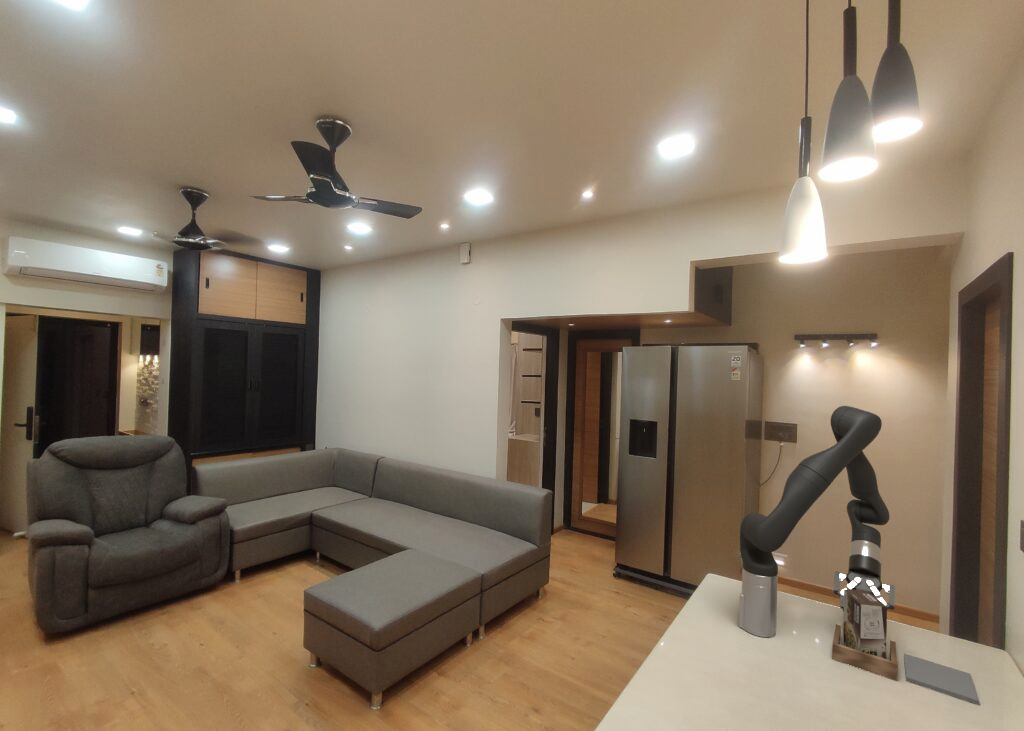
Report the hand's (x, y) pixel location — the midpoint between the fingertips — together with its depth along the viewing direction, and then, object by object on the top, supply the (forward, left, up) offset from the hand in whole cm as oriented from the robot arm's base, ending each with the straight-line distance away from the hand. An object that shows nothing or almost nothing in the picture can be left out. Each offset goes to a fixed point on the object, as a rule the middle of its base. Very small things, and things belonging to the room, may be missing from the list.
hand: (862, 615), depth 129 cm
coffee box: (+1, -2, -10) cm, 10 cm away
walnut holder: (+1, -2, -10) cm, 10 cm away
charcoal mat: (+16, -1, -10) cm, 19 cm away
